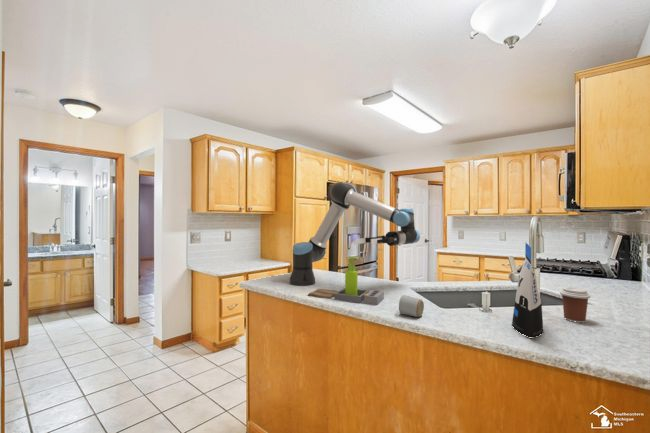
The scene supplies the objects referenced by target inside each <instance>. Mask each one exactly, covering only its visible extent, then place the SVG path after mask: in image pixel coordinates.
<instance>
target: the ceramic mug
mask: <svg viewBox="0 0 650 433" xmlns="http://www.w3.org/2000/svg"><path fill="white" fill-rule="evenodd" d="M424 307H425V304H424V301H423V300H422V299H421V298H418V297H414V296H410V295H407V294H402V295H401V296H400V298H399V301H398V311H399V313H400V314H401V315H404V316H410V317H413V318H414V317H415V318H420V317H421V316H422V315H423V313H424V309H425V308H424Z"/></svg>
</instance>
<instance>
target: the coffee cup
mask: <svg viewBox="0 0 650 433" xmlns="http://www.w3.org/2000/svg"><path fill="white" fill-rule="evenodd" d="M559 294H560V295H561V296H562V309H563V319H564V318H566V319H568V320H571V321H576V322H575V323H577V322H585V321H586V322H587V320H586V319H587V310H588V303H589V302H588V301H589V299H590V298H591V295H590V294H589V293H588V290H587V289H584V288H579V287H573V286H565V287H563V289H562V290H560V291H559ZM568 320H567V321H568ZM571 321H570V322H571ZM586 322H585V323H586Z"/></svg>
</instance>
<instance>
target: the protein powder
mask: <svg viewBox="0 0 650 433" xmlns="http://www.w3.org/2000/svg"><path fill="white" fill-rule="evenodd" d="M524 247H525V249H524V252H525V256H524V257H525V259H524V261H523V263H522V266H521V269H520V272H519V275H518V279H517V280H518V281H517V287H516V293H515V294H516V295H515V299H514V307H513V312H512V313H513V314H512V320H511V327H512V326H513V327H514V328H513V327H512V328H513V330H515V329H516V330H517V331H518V332H520V333H521V334H520V333H519V334H520V335H522V334H524V335H526V336H528V337H535V338H537V337H536V336H539V335H540V334H542V333H543V334H544V322H543V321H544V319H543V307H542V306H543V303H542V300H541V299H542V298H541V296H540V293H539V289H538V284H537V276H536V274H535V271H534V269H533V266H532V247H531V246H530V244H528V243H527V242H525V246H524ZM516 330H515V331H516ZM517 331H516V332H517ZM518 332H517V333H518ZM543 334H542V335H543ZM524 335H523V336H524ZM526 336H525V337H526ZM540 336H541V335H540ZM540 336H539V337H540ZM528 337H527V338H528Z"/></svg>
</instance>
